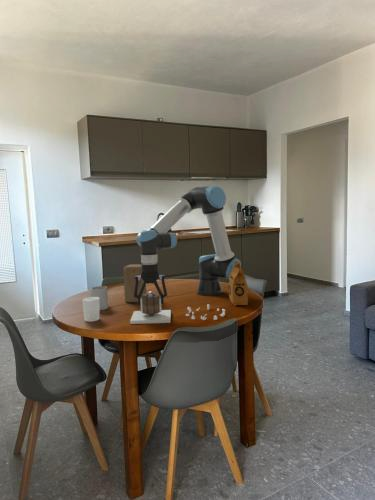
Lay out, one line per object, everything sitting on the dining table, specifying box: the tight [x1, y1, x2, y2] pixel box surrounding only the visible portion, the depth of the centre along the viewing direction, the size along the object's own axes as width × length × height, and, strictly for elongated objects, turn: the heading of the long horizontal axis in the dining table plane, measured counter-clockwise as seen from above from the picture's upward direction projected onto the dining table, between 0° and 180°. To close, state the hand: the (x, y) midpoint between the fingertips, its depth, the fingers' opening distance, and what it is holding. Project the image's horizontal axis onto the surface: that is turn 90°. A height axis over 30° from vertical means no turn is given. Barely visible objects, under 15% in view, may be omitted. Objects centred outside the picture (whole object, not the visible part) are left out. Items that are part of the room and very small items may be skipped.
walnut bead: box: [142, 292, 160, 314], centre depth 174 cm, size 8×8×8 cm
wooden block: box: [123, 263, 147, 303], centre depth 209 cm, size 10×10×20 cm
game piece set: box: [185, 303, 226, 321], centre depth 179 cm, size 19×20×4 cm
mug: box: [90, 285, 109, 311], centre depth 196 cm, size 12×8×11 cm
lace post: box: [147, 291, 154, 316], centre depth 174 cm, size 2×2×11 cm
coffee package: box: [228, 261, 249, 307], centre depth 197 cm, size 10×12×22 cm
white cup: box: [81, 296, 101, 322], centre depth 175 cm, size 8×8×10 cm
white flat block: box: [129, 309, 172, 325], centre depth 175 cm, size 18×16×2 cm
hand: (151, 311), depth 175 cm, fingers closed on walnut bead, 8 cm apart
